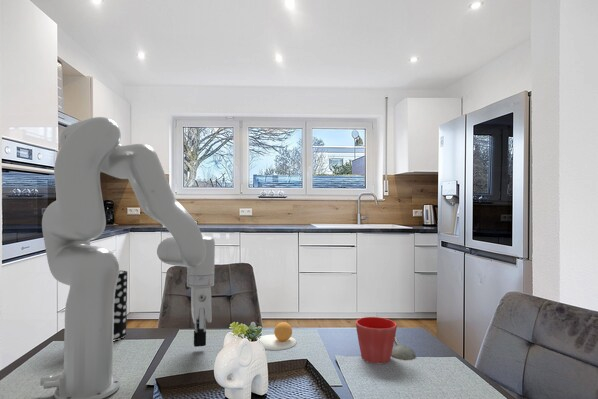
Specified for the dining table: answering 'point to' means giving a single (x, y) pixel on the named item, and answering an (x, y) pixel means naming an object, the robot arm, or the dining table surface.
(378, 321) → the flower pot
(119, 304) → the white-spotted black cylinder
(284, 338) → the ball
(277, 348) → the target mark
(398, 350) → the soupspoon
